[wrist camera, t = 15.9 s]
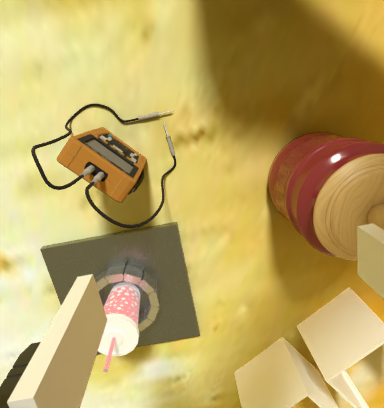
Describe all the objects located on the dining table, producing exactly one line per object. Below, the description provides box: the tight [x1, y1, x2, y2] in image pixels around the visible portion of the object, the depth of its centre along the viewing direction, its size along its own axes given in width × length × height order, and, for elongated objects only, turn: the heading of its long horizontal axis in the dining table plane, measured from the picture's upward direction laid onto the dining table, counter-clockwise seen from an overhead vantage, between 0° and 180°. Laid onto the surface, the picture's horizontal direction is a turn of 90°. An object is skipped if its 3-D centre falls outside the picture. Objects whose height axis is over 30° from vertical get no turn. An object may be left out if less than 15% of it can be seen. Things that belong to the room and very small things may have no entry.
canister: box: [268, 132, 384, 261], centre depth 36 cm, size 13×13×18 cm
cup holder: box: [40, 222, 200, 354], centre depth 47 cm, size 20×20×4 cm
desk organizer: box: [234, 287, 384, 408], centre depth 49 cm, size 25×11×11 cm, turn 133°
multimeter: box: [31, 104, 176, 228], centre depth 31 cm, size 15×10×20 cm
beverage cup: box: [98, 282, 140, 372], centre depth 41 cm, size 6×6×14 cm
